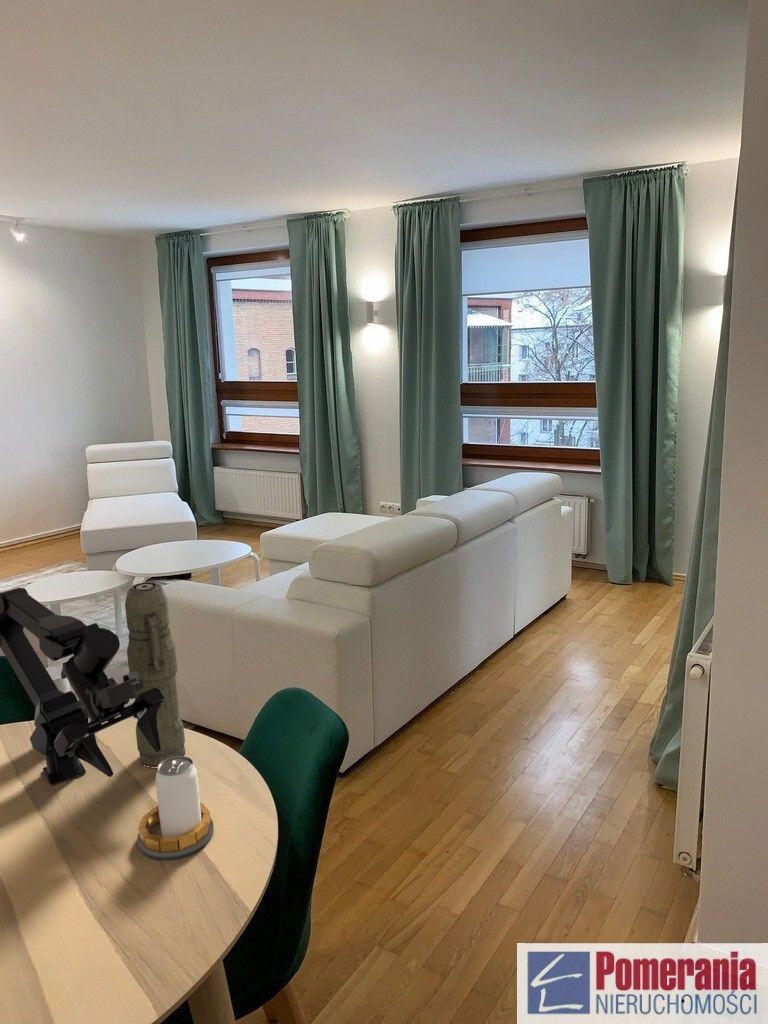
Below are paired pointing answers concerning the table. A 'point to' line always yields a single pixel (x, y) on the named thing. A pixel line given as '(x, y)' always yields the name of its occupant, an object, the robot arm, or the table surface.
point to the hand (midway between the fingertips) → (136, 763)
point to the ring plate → (172, 847)
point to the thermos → (154, 667)
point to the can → (178, 796)
